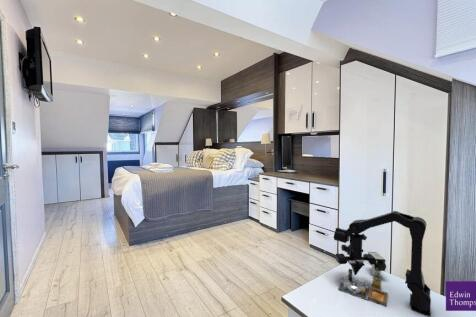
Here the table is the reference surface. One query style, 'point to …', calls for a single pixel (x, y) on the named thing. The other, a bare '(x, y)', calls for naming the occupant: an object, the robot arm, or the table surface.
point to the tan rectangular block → (376, 283)
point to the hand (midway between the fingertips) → (354, 274)
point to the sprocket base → (352, 292)
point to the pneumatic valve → (379, 266)
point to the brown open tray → (377, 296)
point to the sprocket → (353, 284)
